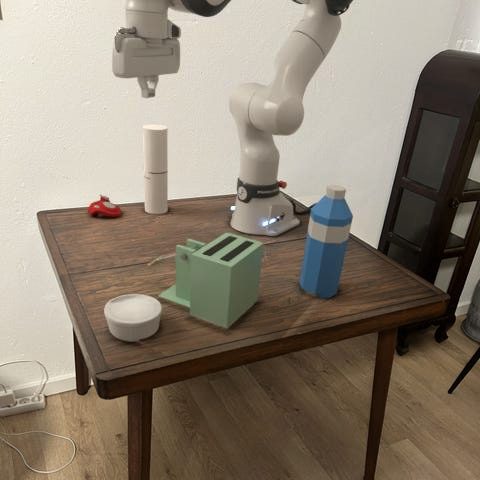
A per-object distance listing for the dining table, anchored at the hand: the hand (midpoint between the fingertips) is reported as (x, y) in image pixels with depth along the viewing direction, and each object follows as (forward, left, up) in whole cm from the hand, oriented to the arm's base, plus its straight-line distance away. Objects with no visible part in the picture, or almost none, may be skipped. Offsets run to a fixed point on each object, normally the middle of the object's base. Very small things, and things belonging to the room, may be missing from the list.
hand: (148, 97), depth 113 cm
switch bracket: (+8, +28, -37) cm, 48 cm away
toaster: (+5, +37, -37) cm, 53 cm away
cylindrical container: (-16, -22, -37) cm, 46 cm away
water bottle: (-20, +42, -37) cm, 60 cm away
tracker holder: (-2, -28, -37) cm, 47 cm away
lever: (+10, +25, -29) cm, 39 cm away
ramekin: (+25, +32, -37) cm, 55 cm away
